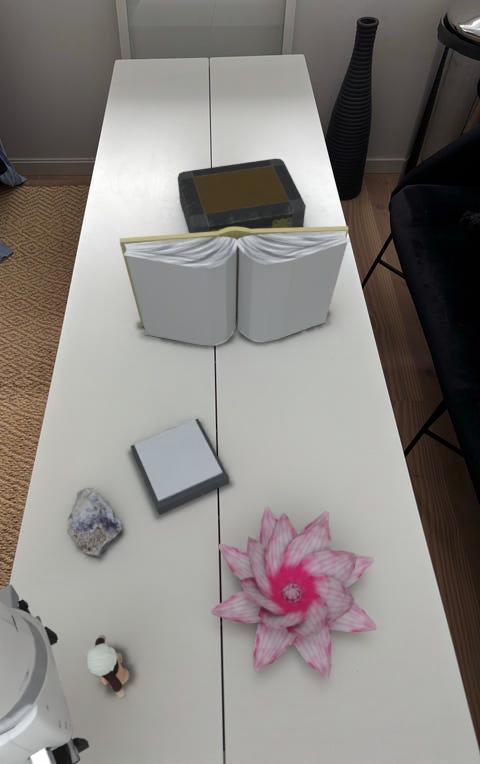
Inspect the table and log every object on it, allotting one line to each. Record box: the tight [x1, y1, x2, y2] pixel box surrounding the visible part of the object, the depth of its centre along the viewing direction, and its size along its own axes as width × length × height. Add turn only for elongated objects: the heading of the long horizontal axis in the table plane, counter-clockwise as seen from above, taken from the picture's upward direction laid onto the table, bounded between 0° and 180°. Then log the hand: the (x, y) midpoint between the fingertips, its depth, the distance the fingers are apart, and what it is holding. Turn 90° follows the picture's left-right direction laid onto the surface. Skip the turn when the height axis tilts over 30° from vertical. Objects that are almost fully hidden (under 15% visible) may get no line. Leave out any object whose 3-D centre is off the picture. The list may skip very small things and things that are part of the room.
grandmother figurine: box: [86, 634, 131, 699], centre depth 67 cm, size 8×4×13 cm, turn 40°
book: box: [119, 225, 350, 347], centre depth 96 cm, size 36×8×24 cm, turn 95°
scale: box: [130, 418, 230, 516], centre depth 88 cm, size 12×12×3 cm
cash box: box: [177, 158, 307, 233], centre depth 123 cm, size 25×20×8 cm
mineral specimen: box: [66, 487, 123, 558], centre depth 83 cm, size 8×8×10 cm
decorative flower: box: [210, 505, 378, 679], centre depth 72 cm, size 21×21×15 cm
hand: (56, 696), depth 51 cm, fingers open, 9 cm apart
